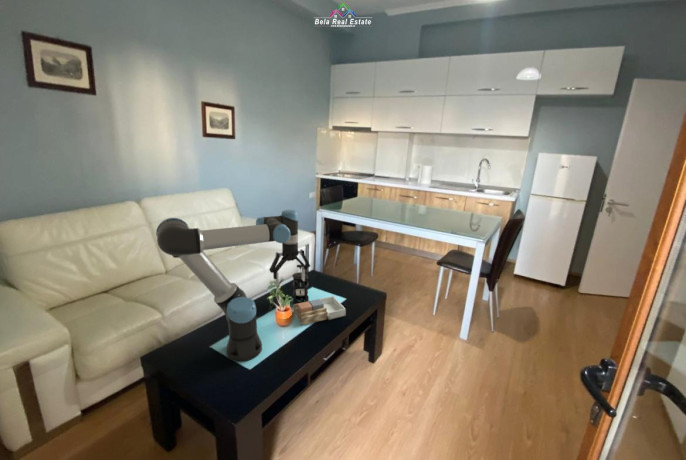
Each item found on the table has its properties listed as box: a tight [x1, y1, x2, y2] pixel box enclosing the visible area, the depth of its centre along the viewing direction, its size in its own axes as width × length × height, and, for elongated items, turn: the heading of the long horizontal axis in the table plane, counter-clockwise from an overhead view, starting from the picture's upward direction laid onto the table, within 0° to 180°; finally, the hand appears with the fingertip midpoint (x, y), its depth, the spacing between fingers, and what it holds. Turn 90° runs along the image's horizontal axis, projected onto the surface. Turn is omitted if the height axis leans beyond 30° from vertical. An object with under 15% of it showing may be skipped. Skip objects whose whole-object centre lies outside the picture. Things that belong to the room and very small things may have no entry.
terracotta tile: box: [298, 301, 312, 313], centre depth 168 cm, size 6×6×3 cm
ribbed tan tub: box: [292, 300, 329, 326], centre depth 170 cm, size 14×14×6 cm
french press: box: [291, 264, 310, 306], centre depth 181 cm, size 12×9×23 cm
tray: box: [319, 295, 347, 321], centre depth 176 cm, size 10×16×4 cm, turn 27°
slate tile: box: [309, 298, 324, 310], centre depth 171 cm, size 6×6×3 cm
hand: (290, 282), depth 160 cm, fingers open, 13 cm apart
